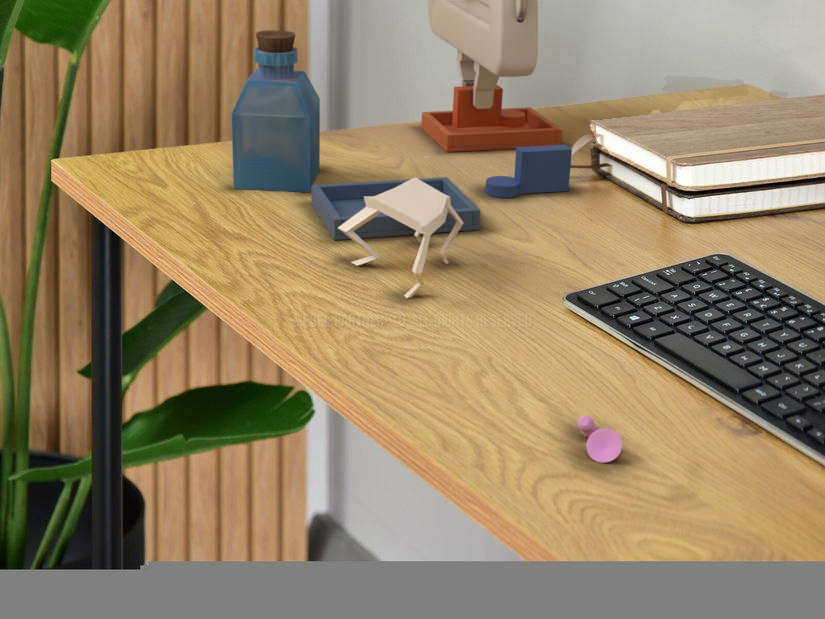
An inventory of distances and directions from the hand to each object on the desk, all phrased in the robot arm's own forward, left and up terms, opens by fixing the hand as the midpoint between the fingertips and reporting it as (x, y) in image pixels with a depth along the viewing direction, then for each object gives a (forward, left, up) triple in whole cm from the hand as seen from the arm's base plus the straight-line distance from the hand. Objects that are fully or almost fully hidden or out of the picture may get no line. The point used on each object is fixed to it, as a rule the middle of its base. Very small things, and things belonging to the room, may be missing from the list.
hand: (476, 103), depth 112 cm
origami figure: (+15, +31, -4) cm, 35 cm away
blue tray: (+13, +20, -3) cm, 24 cm away
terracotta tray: (-2, 0, -3) cm, 4 cm away
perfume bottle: (+20, +9, -4) cm, 23 cm away
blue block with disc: (+1, +16, -3) cm, 16 cm away
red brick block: (-1, 0, -2) cm, 3 cm away
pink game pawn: (+12, +56, -4) cm, 57 cm away
